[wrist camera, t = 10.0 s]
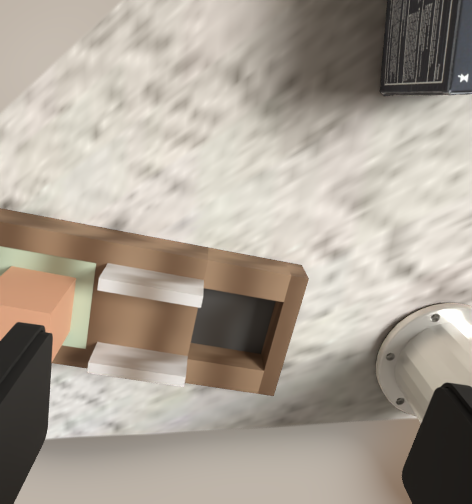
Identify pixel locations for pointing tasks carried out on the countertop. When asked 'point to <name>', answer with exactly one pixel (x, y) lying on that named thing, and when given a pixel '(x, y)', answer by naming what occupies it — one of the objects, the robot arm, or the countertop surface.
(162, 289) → the track
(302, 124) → the countertop surface
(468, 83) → the small box
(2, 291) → the block
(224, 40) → the countertop surface
